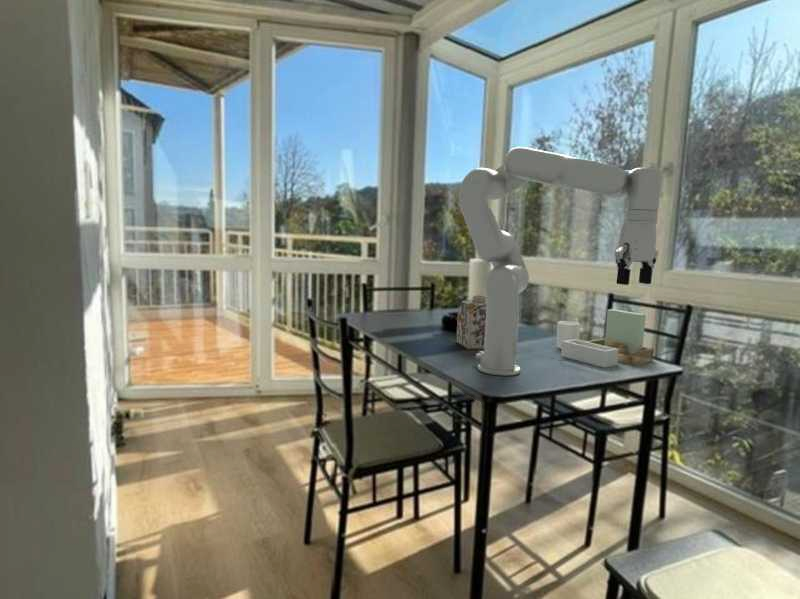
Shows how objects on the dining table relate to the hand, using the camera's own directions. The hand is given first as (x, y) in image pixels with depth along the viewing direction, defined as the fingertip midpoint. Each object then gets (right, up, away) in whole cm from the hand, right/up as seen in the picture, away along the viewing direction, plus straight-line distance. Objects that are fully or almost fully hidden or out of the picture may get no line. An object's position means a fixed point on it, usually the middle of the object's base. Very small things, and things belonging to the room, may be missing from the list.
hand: (633, 283), depth 139 cm
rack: (+11, -24, +39) cm, 48 cm away
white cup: (-2, -22, +51) cm, 55 cm away
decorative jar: (-34, -21, +53) cm, 66 cm away
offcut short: (+11, -21, +39) cm, 45 cm away
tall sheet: (+14, -23, +41) cm, 49 cm away
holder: (0, -25, +33) cm, 41 cm away
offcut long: (+11, -23, +40) cm, 47 cm away
